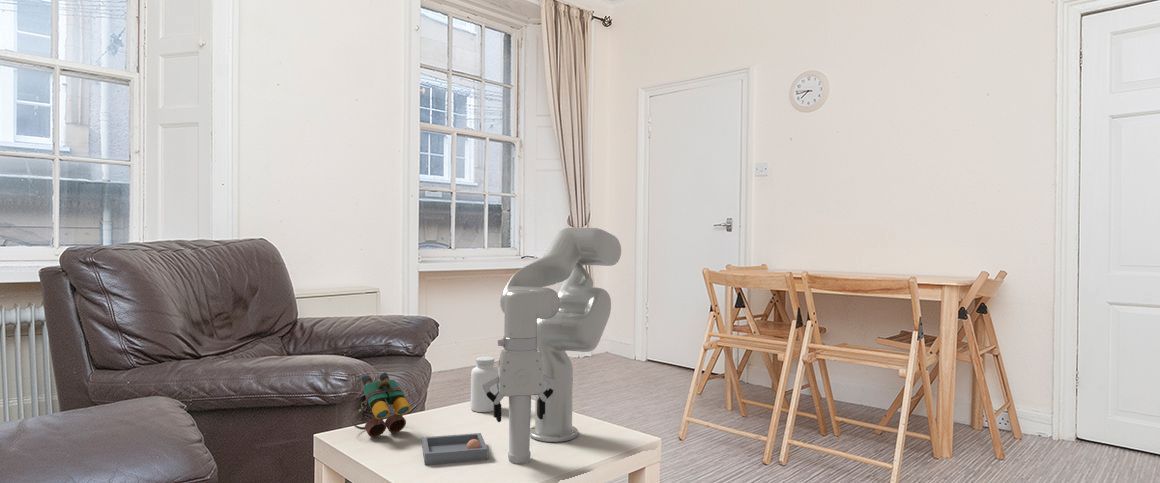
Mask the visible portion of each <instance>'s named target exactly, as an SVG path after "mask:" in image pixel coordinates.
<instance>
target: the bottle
mask: <svg viewBox="0 0 1160 483" xmlns="http://www.w3.org/2000/svg"><path fill="white" fill-rule="evenodd" d="M531 408H532V395H530V396H511V397H508V442H509V443H508V445H509V446H508V448H509V449H508V450H509V451H508V452H507V458H508V461H509V462H510V463H511V464H516V465H521V464H527V463H528V462H530V460H531V450H530V448H531V447H530V439H531V437H530V428H531V416H532V415H531V413H532V409H531Z"/></svg>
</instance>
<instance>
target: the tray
mask: <svg viewBox="0 0 1160 483" xmlns="http://www.w3.org/2000/svg"><path fill="white" fill-rule="evenodd" d="M472 439H476V440H478V441H479V442H480V444H481V448H474V449H467V443H468V442H469V441H470V440H472ZM421 441H422V442H421V444H422V445H421V447H422V453H423V455H422V456H423V462H424V463H423V464H424V466H429V465H430V466H431V465H439V464H440V465H441V464H451V463H452V464H453V463H463V462H464V463H466V462H473V461H474V462H477V461H486V460H487V461H488V450H489V449H488V447H487V445H486V442H485V439H484V437H483V435H482V433H481V432H476V433H461V434H448V435H446V434H445V435H437V436H434V435H433V436H423V437H422V438H421Z"/></svg>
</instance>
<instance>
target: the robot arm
mask: <svg viewBox="0 0 1160 483" xmlns="http://www.w3.org/2000/svg"><path fill="white" fill-rule="evenodd" d="M621 255H622V246H621V243H620V240H619V239H618V237H617V236H615V235H614V234H612V233H609V232H608V231H606V230H603V229H602V228H598V227H566V228H563V229H561V230H559V231H558V232H557V234H556V235H555V237H554V238H553V240H552V242H551V243H550V245H549V247H548V248H547V250H546V251H545V253H544V255H543V256H542V257H541V258H539V259H537V260H535V261H532V262H530V263H529V264H527V265H525V266H523V267H522V268H520V269H518V270H517V271H516V272H515V273H514V274H512V275H511V277H510V278H509V280H508V281H507V283H506V285H505V286H504V288H503V291H502V292H501V295H500V301H499V303H500V304H499V305H500V309H501V311H502V313H503V314H504V321H503V323H504V326H503V327H504V328H503V329H504V331H503V333H504V334H503V337H502V338H501V339H498V340H497V346H498V347H502V348H503V349H501V350H500V356H499V359H498V367H497V369H498V375H497V376H495V377H494V378H492V379H490V380H488V381H486V382H485V383H483V384H482V388H483V389H484V391H485V393H486V395H487V397H488V398H489V399H490V400H491V401H492V402H493V403H494V411H493V418H495V419H496V421H497V423H500V422H502V404H501V401H502V400H503V398H504V397H508V398H509V397H511V396H530V395H531V396H535V402H534V403H535V411H534V413H535V414H534V415H535V416H534V418H535V419H534V423H535V424H534V425H533V426H532V427H530V438H532V439H534V440H537V441H540V442H547V443H558V442H559V443H560V442H567V441H570V440H574V439H575V438H577V437H578V435H579V430H578V428H577V427H575V426H573V388H574V387H573V379H574V378H573V377H574V376H573V375H574V369H573V364H572V361H571V359H570V356H569V355H568V354H567V351H569V352H578V353H579V352H581V353H590V352H592V351H594V350H595V349H596V348H597V347H598V345H599V343H600V341H601V338H602V336H603V333H604V331H605V329H606V326H607V324H608V321H609V318H610V315H611V310H612V299H611V295H610V293H609V292H608V291H607V290H605V289H604V288H601V287H594V281H593V278H592V276H591V275H590V273H589V272H588V270H587V269H586V268H584V266H599V267H600V266H603V267H604V266H605V267H606V266H607V267H608V266H610V267H613V266H614V265H616V264H617V263H619V261H620V259H621ZM556 284H560V285H559V287H558V289H557V291H556V290H554V289H552V288H549V286H553V285H556ZM496 383H497V389H498V392H497V393H496V394H495V395H494V394H493V393H492V392H491V391H490V387H491V386H493V385H495V384H496Z"/></svg>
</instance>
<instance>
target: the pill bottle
mask: <svg viewBox="0 0 1160 483" xmlns="http://www.w3.org/2000/svg"><path fill="white" fill-rule="evenodd" d="M470 374H471V377H470V410H471V411H473V412H476V413H490V412H491V413H492V412H494V403H493V402H492V401H491V400H490V399H489V398H488V397H487V395H486V393H485V391H484V389H483V388H482V384H483V383H485V382H486V381H488V380H490V379H492V378H494V377H495V376H497V375H498V367H496V366H495V358H494V357H492V356H479V357H476V359H475V367H473V368H472V369H471V373H470ZM490 391H491V392H492V393H493V394H494V395H495V394H496V393H497V392H498V389H497V383H496V384H495V385H493V386H491V387H490Z"/></svg>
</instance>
